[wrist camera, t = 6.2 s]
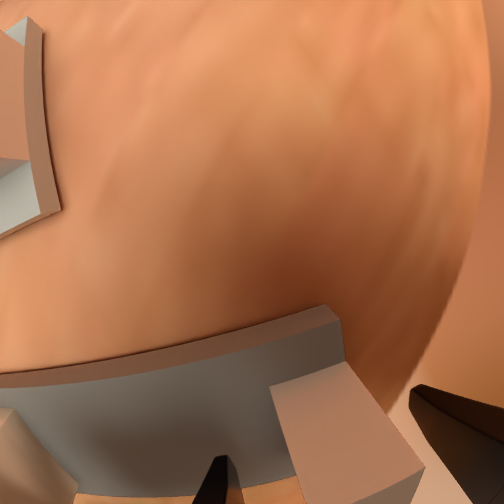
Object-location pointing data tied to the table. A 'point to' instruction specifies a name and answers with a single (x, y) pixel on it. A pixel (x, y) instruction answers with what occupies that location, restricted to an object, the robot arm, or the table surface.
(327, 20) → the table surface
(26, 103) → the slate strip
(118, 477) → the grey piece
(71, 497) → the cream block
